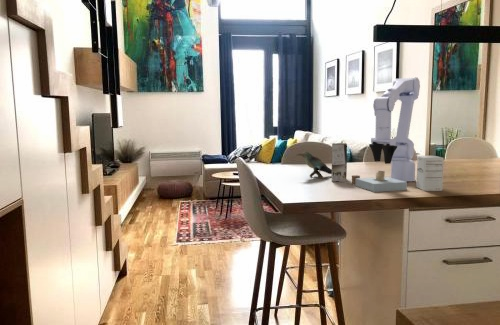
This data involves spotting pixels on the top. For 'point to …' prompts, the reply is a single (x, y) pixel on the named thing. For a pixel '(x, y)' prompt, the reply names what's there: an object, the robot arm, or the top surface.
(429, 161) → the supplement box
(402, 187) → the hole board
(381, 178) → the long dowel
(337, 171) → the coffee box
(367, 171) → the top surface
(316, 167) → the bird figurine
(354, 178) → the short dowel
